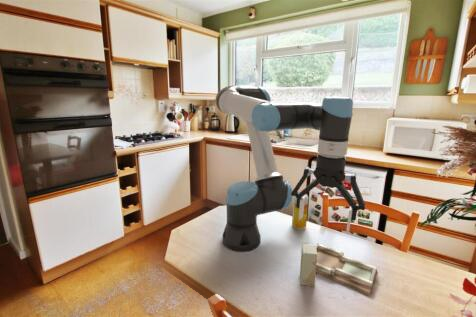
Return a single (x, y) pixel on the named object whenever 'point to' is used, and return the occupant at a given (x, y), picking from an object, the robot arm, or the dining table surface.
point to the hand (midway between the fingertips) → (323, 223)
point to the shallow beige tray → (344, 269)
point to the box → (308, 265)
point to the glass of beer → (295, 218)
